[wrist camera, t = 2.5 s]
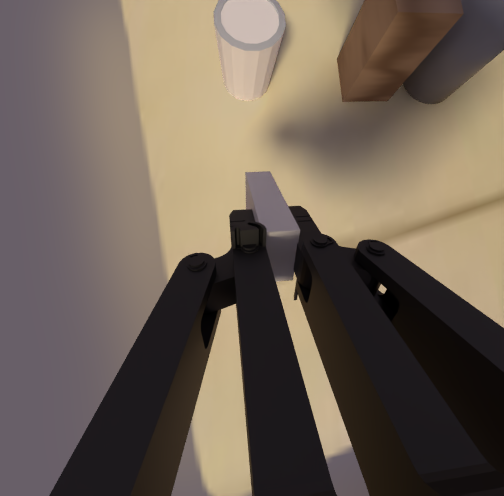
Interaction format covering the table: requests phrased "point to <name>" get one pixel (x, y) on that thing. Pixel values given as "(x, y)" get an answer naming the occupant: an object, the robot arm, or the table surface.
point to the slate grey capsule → (460, 52)
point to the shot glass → (248, 44)
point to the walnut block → (391, 44)
